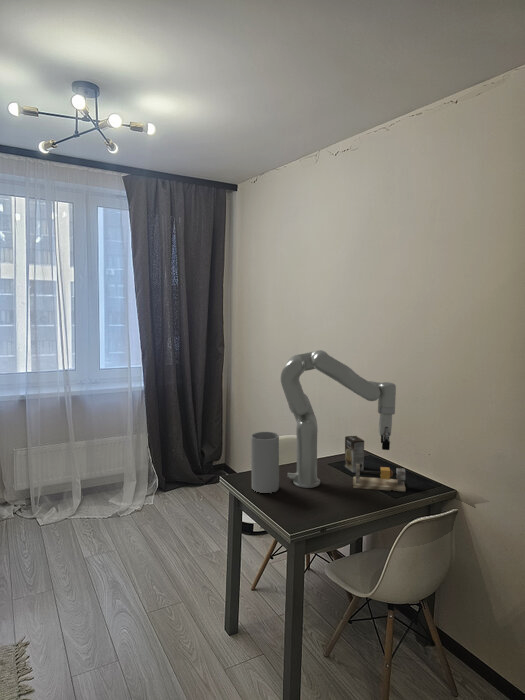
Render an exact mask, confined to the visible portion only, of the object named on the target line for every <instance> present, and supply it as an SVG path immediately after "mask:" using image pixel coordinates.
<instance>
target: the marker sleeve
mask: <svg viewBox="0 0 525 700" xmlns="http://www.w3.org/2000/svg"><path fill="white" fill-rule="evenodd" d="M390 470H391V469H390V466H389V467H386V466H380V471H379V472H381V474H379V477H380V478H381V479H388V480H390V479H391V477H390Z"/></svg>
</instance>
